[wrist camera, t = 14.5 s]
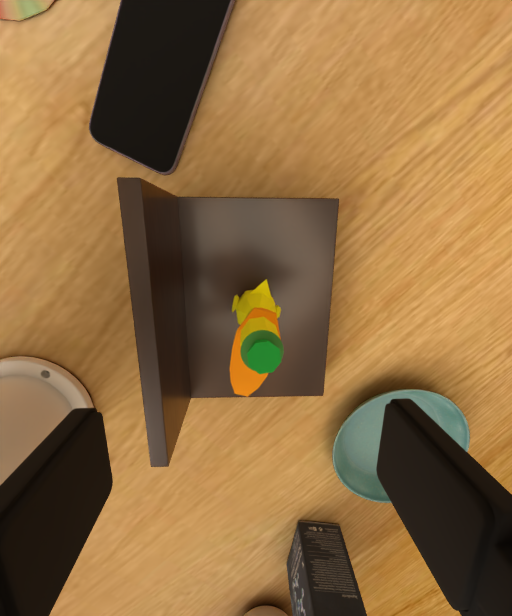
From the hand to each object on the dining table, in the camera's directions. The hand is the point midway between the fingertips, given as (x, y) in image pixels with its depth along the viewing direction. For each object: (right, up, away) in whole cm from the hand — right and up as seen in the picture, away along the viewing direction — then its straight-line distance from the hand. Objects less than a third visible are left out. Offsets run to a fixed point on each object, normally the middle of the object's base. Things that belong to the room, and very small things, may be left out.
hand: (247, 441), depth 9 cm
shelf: (0, +5, +18) cm, 19 cm away
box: (+8, -26, +27) cm, 39 cm away
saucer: (+16, -10, +23) cm, 30 cm away
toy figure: (0, +4, +15) cm, 16 cm away
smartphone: (-7, +24, +13) cm, 28 cm away
